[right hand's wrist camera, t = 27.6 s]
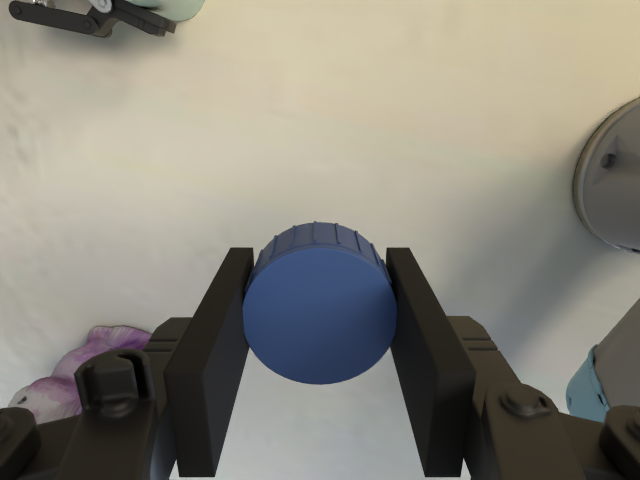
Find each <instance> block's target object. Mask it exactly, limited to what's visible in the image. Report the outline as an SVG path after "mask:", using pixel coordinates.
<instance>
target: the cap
mask: <svg viewBox="0 0 640 480" xmlns="http://www.w3.org/2000/svg"><path fill="white" fill-rule="evenodd" d="M391 285H392V281H391V278H390V276H389V273H388V270H387V268H386V265H385V263H384V260H383V259H382V260H381V258H380V256H379V254H378V253H377V251H376V250H375V248H374V245H373V244H372V243H371V244H370V243H369V242H368V241H367V240H366V239H365V238H364V237H362V236H361V235H360V234H358V231H353V230H351V229H349V228H346V227H344V226H340V225H338V223H335V224H332V223H322V222H316V221H314V223H307V224H302V225H298V226H295V225H294V226H293V228H290V229H288V230H286V231H284V232H282V233H281V234H279V235H278V236H277V235H275V236H274V239H273V240H272V241H271V242H270V243H269V244H268V245H267V246H266V247H265V248H264V250H261V251H260V254H259V257H258V260H257V262H256V265H255V267H253V268H252V271H251V273H250V276H249V279H248V282H247V285H246V288H245V291H244V293H246V294H245V298H244V301H243V305H242V311H243V325H244V335H245V338H246V340H247V342H248V344H249V346H250V348H251V350H252V351H253V352H254V354H255V355H256V356H257V358H258V359H259V360H260V361H261V362H262V363H263V364H264V365H266V366H267V367H268V368H269V369H271V370H272V371H274V372H275V373H277V374H279V375H281V376H283V377H285V378H288V379H290V380H293V381H297V382H301V383H307V384H320V385H322V384H333V383H338V382H342V381H346V380H349V379H351V378H354V377H356V376H358V375H360V374H362V373H364V372H365V371H367V370H368V369H370V368H371V367H372V366H374V365H375V364H376V363H377V362H378V361H379V360H380V359H381V358H382V357H383V355H384V354H385V353H386V352H387V350H388V348H389V347H390V345H391V343H392V341H393V339H394V336H395V331H396V318H397V302H396V298H395V295H394V292H393V289H392V287H391Z"/></svg>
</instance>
